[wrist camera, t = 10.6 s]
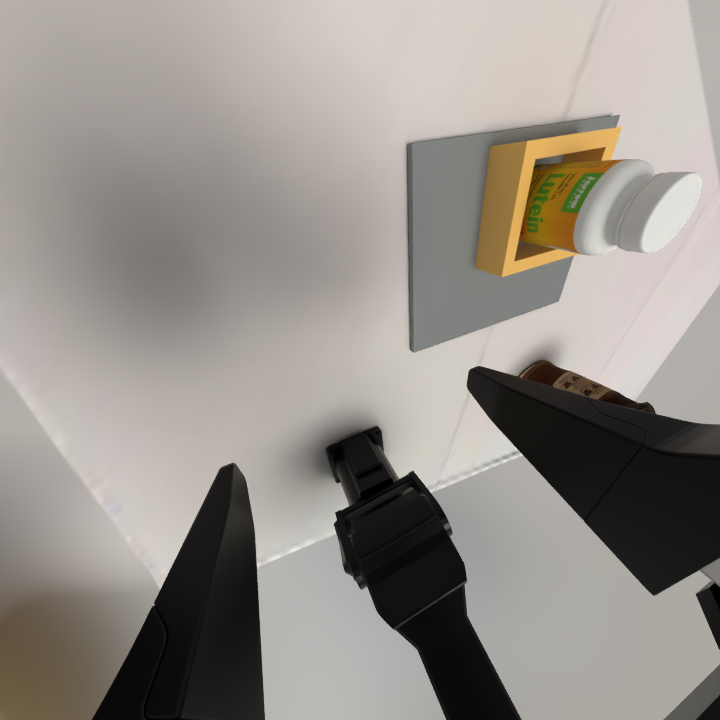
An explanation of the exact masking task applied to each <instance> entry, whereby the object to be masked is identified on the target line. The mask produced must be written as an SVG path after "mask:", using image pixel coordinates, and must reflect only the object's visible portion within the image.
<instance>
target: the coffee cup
mask: <svg viewBox="0 0 720 720" xmlns="http://www.w3.org/2000/svg"><path fill="white" fill-rule="evenodd" d="M520 378H524V379H527V380H530V381H534V382H537V383H541V384H544V385H548V386H551V387H555V388H558V389H562V390H565V391H569V392H572V393H576V394H579V395H583V396H584V397H585V396H587V397H590V398H593V399H597V400H601V401H604V402H608V403H612V404H615V405H619V406H623V407H627V408H632V409H636V410H640V411H644V412H649V413H653V414H656V413H655V410H654V408H653V406H652V405H651V404H649V403H648V402H645V403H637V402H635V401H633V400H631V399H628V398H626V397H625V396H623V395H622V394H620V393H618V392H616V391H614V390H611V389H609V388H607V387H605V386H603V385H601V384H598V383H596V382H594V381H592V380H589V379H587V378H585V377H583V376H581V375H578V374H576V373H574V372H571V371H568V370H564V369H561V368H558V367H556V366H555V365H553V364H552V363H550V362H548V361H540V362H538V363H536V364H534V365H532V366H531V367H529V368H528V369H527V370H526V371H525V372H524V373H523V374H522V375H520Z"/></svg>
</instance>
